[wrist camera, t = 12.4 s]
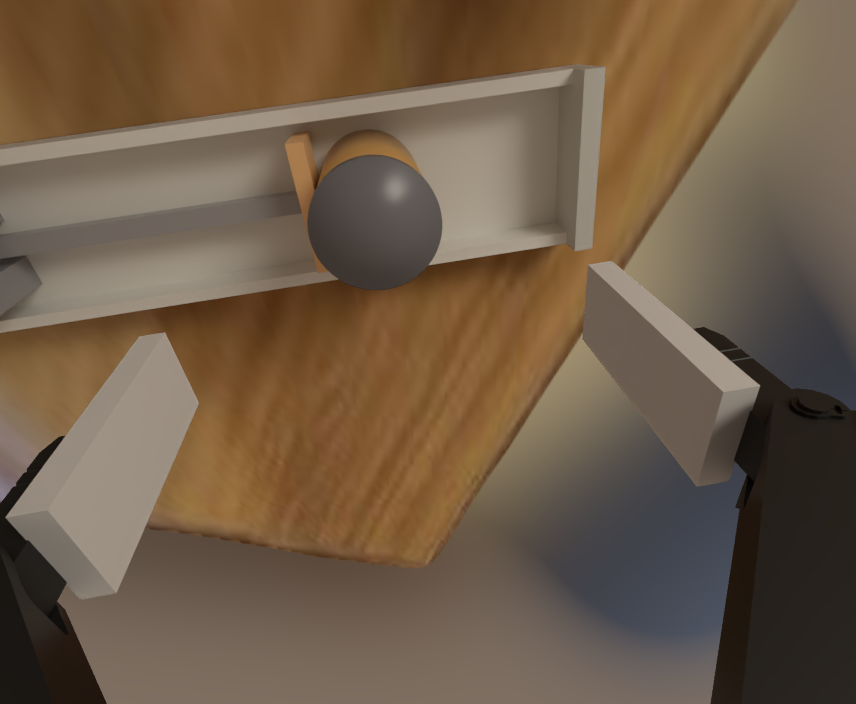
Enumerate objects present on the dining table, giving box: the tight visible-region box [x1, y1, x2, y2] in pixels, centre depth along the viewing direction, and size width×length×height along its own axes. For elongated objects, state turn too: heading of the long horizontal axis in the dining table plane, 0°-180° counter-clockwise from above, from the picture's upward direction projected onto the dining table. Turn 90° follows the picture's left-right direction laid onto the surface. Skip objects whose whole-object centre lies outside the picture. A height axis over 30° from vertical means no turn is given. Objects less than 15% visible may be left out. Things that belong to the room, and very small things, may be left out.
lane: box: [0, 64, 606, 333], centre depth 30 cm, size 11×40×6 cm, turn 97°
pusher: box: [0, 131, 329, 273], centre depth 29 cm, size 8×24×4 cm, turn 97°
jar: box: [307, 129, 442, 290], centre depth 28 cm, size 7×7×10 cm
